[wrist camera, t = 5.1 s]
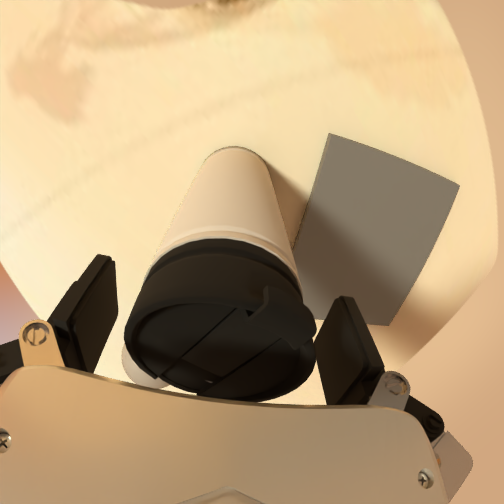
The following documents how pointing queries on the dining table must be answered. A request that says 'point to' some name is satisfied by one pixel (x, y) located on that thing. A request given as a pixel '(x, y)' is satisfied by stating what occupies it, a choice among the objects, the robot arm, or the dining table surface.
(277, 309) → the travel mug
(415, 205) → the mat
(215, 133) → the dining table surface
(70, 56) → the dining table surface
